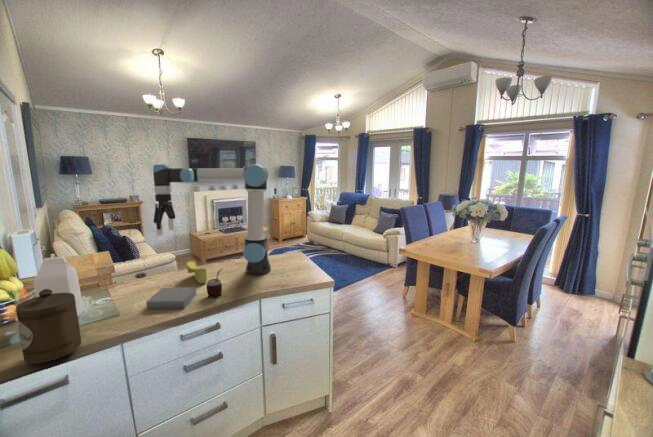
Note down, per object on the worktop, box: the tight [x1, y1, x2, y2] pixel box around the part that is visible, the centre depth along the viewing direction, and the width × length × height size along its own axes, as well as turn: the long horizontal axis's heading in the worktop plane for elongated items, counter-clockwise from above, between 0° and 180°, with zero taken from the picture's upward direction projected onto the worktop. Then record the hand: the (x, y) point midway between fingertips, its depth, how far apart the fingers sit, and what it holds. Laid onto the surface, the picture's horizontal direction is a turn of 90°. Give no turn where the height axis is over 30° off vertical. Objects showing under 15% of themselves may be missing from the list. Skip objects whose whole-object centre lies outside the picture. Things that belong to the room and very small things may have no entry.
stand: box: [146, 286, 197, 311], centre depth 143 cm, size 16×16×4 cm
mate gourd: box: [206, 268, 224, 299], centre depth 150 cm, size 8×8×15 cm
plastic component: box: [186, 259, 208, 285], centre depth 171 cm, size 20×7×10 cm, turn 38°
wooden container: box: [15, 289, 82, 364], centre depth 103 cm, size 15×15×22 cm
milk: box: [33, 256, 85, 317], centre depth 125 cm, size 12×12×26 cm
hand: (166, 232), depth 165 cm, fingers open, 13 cm apart
